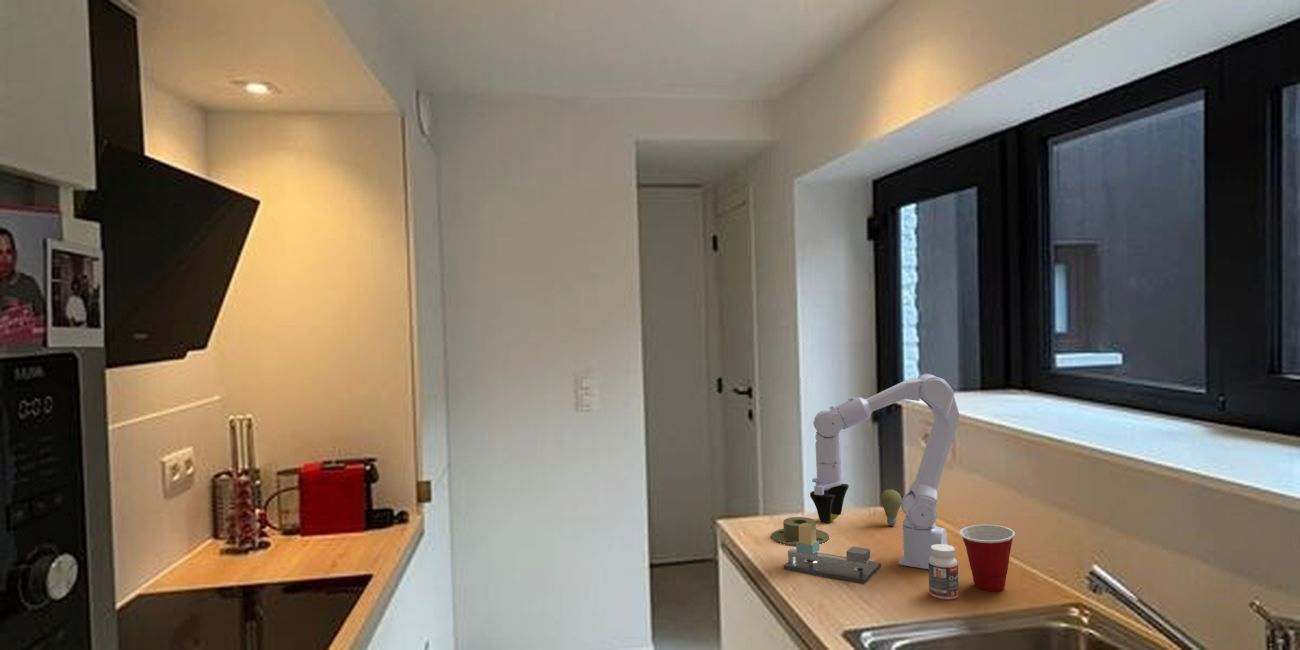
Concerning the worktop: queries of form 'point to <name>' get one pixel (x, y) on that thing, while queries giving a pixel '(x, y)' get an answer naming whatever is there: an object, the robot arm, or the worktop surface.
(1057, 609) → the worktop surface
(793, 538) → the flange
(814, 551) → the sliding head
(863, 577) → the hole plate
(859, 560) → the rail
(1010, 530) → the plastic cup
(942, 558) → the pill bottle
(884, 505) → the light bulb
